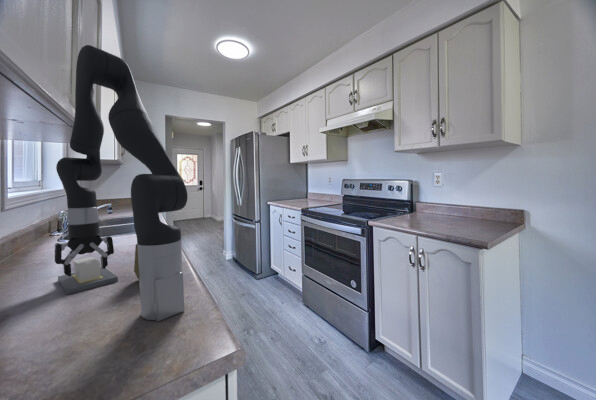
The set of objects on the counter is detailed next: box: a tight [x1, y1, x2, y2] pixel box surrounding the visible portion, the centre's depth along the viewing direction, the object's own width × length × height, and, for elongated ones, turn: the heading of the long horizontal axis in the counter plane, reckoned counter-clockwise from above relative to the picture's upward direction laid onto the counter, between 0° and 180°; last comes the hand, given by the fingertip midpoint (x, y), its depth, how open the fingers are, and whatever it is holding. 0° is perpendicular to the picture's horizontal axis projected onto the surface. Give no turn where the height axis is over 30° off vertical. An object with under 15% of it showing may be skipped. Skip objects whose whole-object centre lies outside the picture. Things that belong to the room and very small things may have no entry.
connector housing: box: [73, 256, 101, 282], centre depth 80 cm, size 9×5×5 cm, turn 51°
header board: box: [57, 266, 119, 296], centre depth 80 cm, size 16×12×4 cm
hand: (87, 271), depth 80 cm, fingers open, 8 cm apart
